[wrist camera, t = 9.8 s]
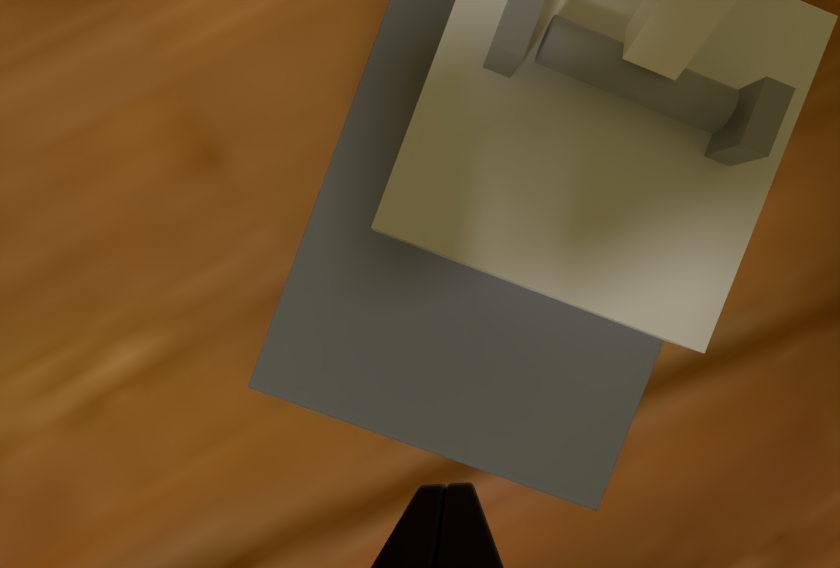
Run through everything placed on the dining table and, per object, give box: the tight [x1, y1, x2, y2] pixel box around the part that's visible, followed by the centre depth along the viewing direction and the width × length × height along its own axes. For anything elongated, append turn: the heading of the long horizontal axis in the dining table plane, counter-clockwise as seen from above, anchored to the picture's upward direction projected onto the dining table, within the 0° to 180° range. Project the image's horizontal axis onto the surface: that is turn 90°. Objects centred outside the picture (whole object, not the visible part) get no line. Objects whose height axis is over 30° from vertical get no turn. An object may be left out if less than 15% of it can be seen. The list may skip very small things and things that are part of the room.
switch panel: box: [248, 0, 838, 511], centre depth 17 cm, size 16×12×5 cm
